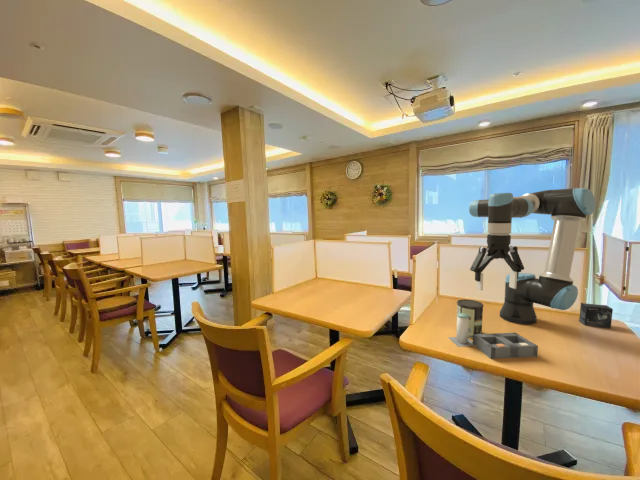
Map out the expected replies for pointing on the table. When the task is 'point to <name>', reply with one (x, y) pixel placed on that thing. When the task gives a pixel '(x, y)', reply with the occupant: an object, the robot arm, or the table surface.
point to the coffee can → (472, 315)
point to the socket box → (505, 345)
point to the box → (596, 315)
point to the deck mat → (460, 343)
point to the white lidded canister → (462, 328)
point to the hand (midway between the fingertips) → (496, 288)
